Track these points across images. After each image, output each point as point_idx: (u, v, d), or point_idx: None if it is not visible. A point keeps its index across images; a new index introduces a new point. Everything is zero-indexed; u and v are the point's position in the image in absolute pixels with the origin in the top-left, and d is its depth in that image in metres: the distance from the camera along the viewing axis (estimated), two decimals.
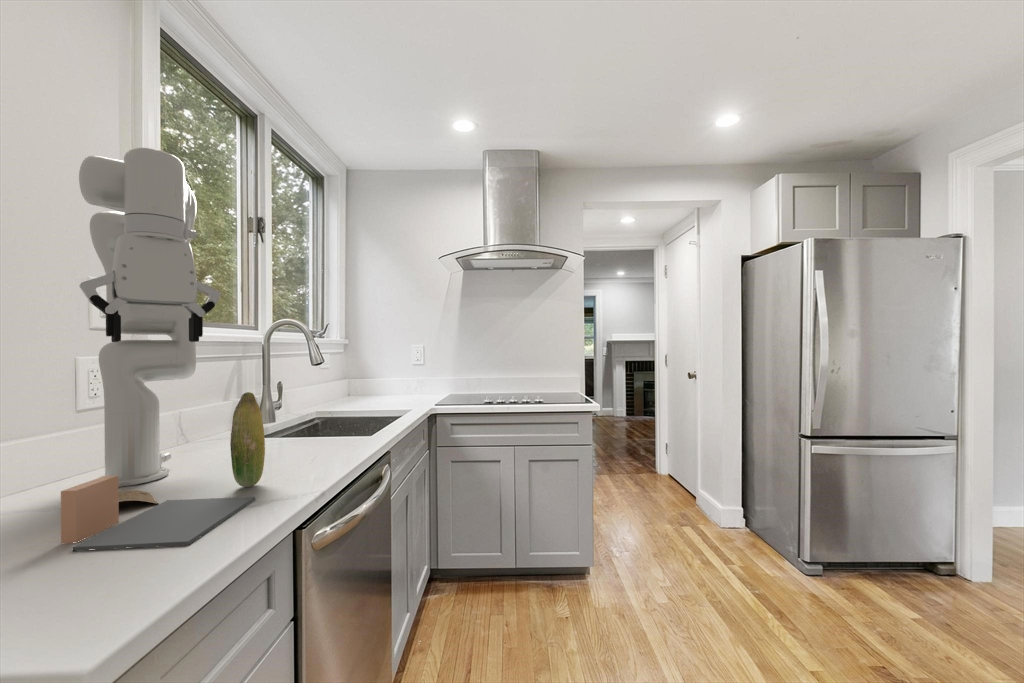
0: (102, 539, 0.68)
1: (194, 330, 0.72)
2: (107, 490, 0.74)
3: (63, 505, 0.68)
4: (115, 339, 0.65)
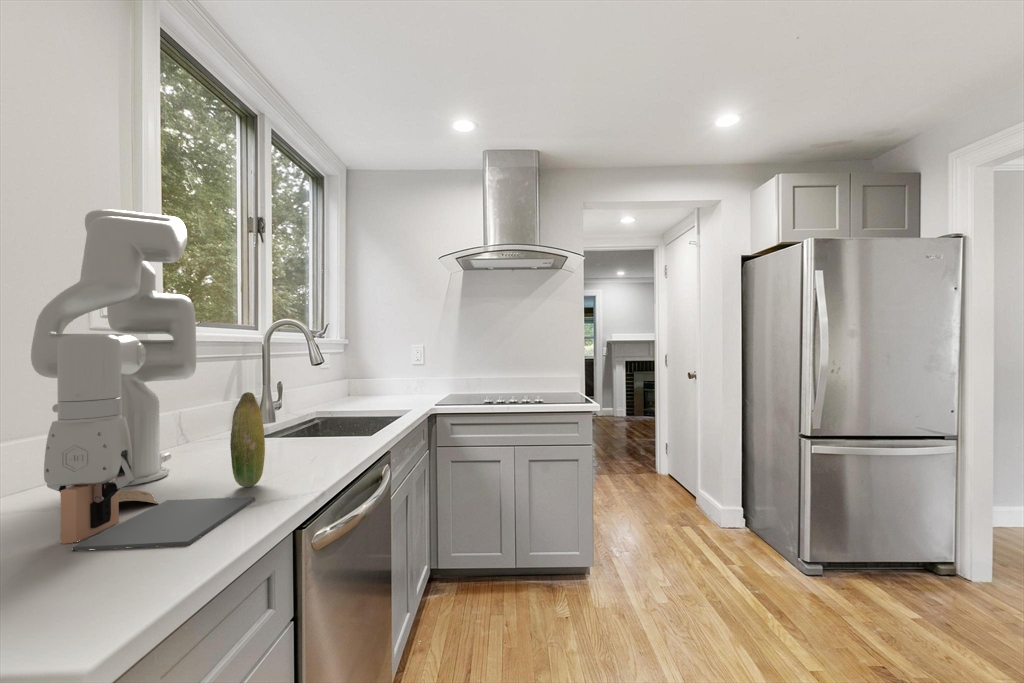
0: (102, 539, 0.68)
1: None
2: None
3: (62, 505, 0.68)
4: (109, 519, 0.73)
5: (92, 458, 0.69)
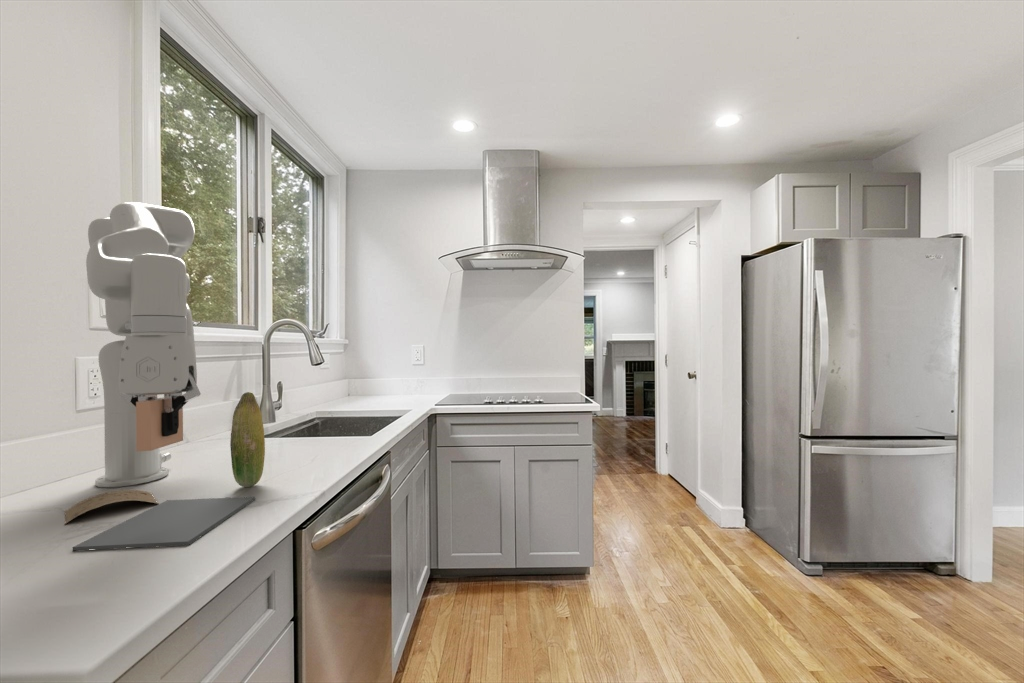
0: (102, 539, 0.68)
1: None
2: None
3: (138, 415, 0.73)
4: (176, 431, 0.78)
5: (164, 369, 0.74)
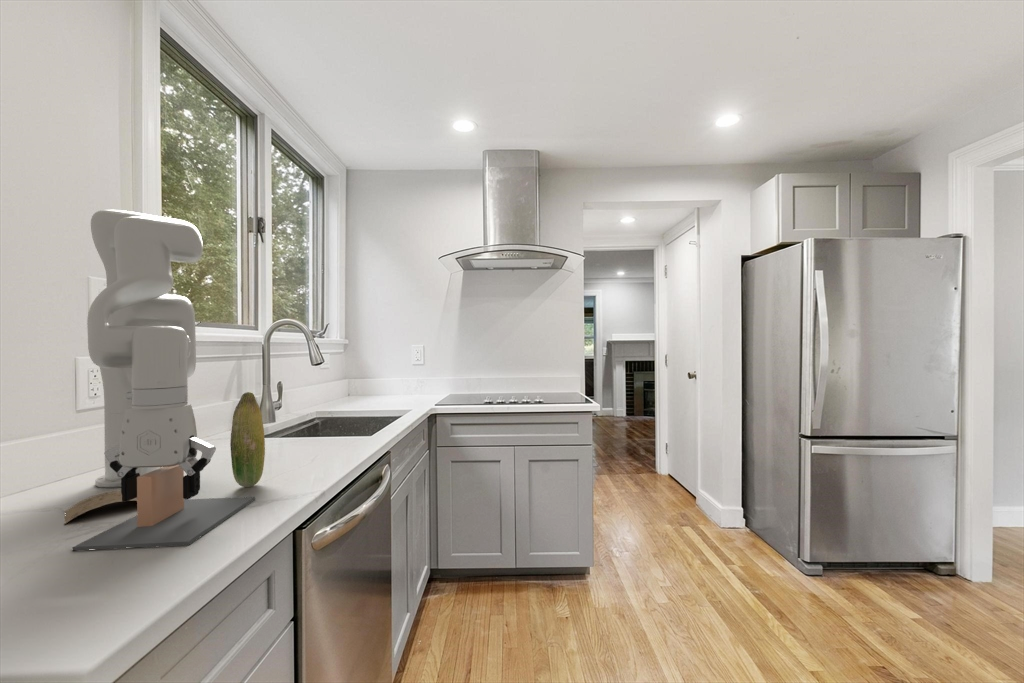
0: (102, 539, 0.68)
1: None
2: (175, 477, 0.78)
3: (139, 490, 0.72)
4: (197, 492, 0.78)
5: (164, 442, 0.74)
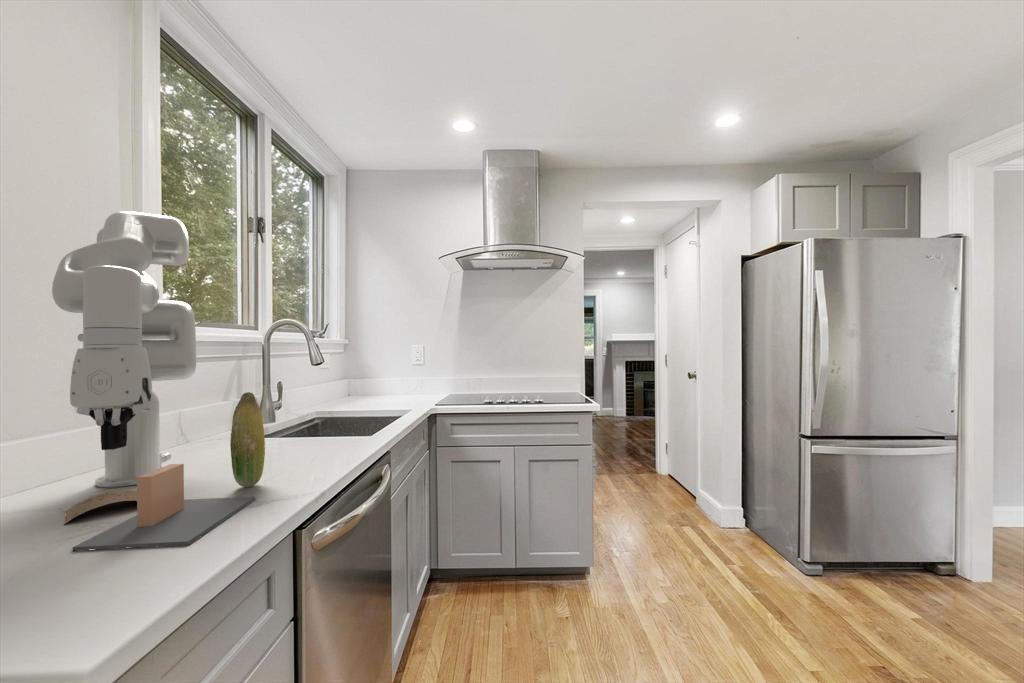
0: (102, 539, 0.68)
1: None
2: (175, 477, 0.78)
3: (139, 490, 0.72)
4: (125, 444, 0.77)
5: (115, 382, 0.73)
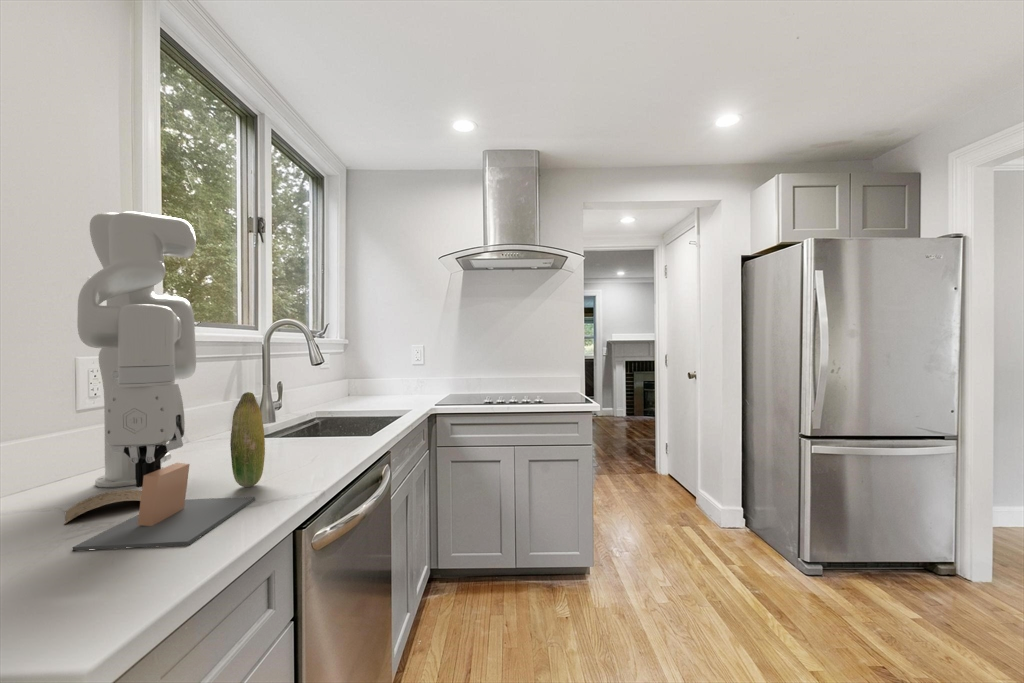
0: (102, 539, 0.68)
1: None
2: (179, 477, 0.78)
3: (144, 489, 0.72)
4: None
5: (150, 420, 0.74)
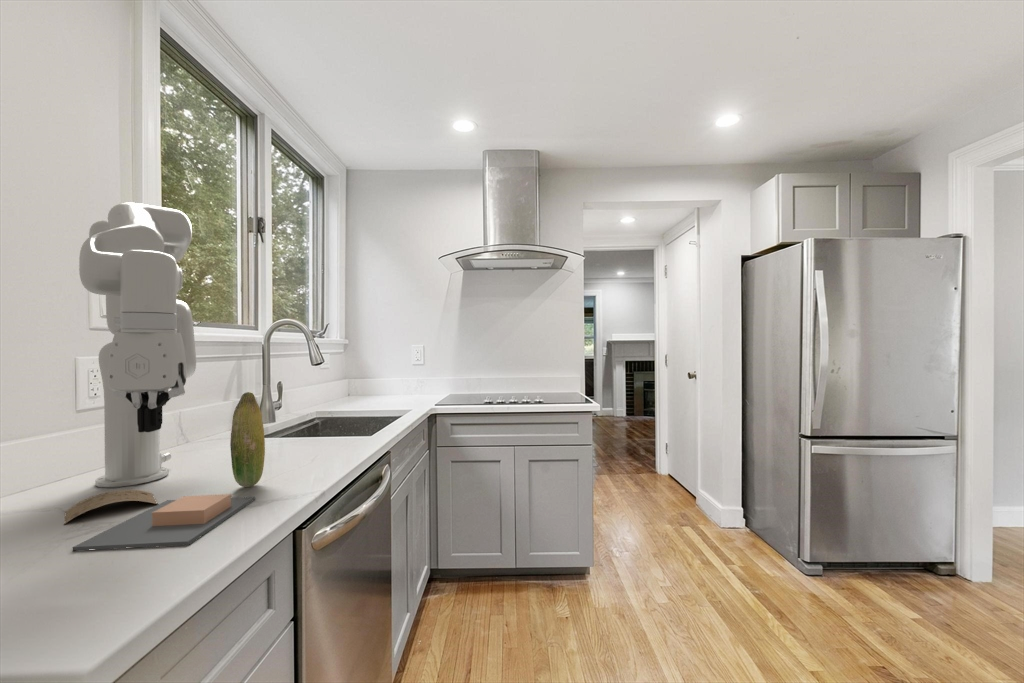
0: (102, 539, 0.68)
1: None
2: None
3: (189, 512, 0.73)
4: (160, 427, 0.79)
5: (153, 366, 0.74)
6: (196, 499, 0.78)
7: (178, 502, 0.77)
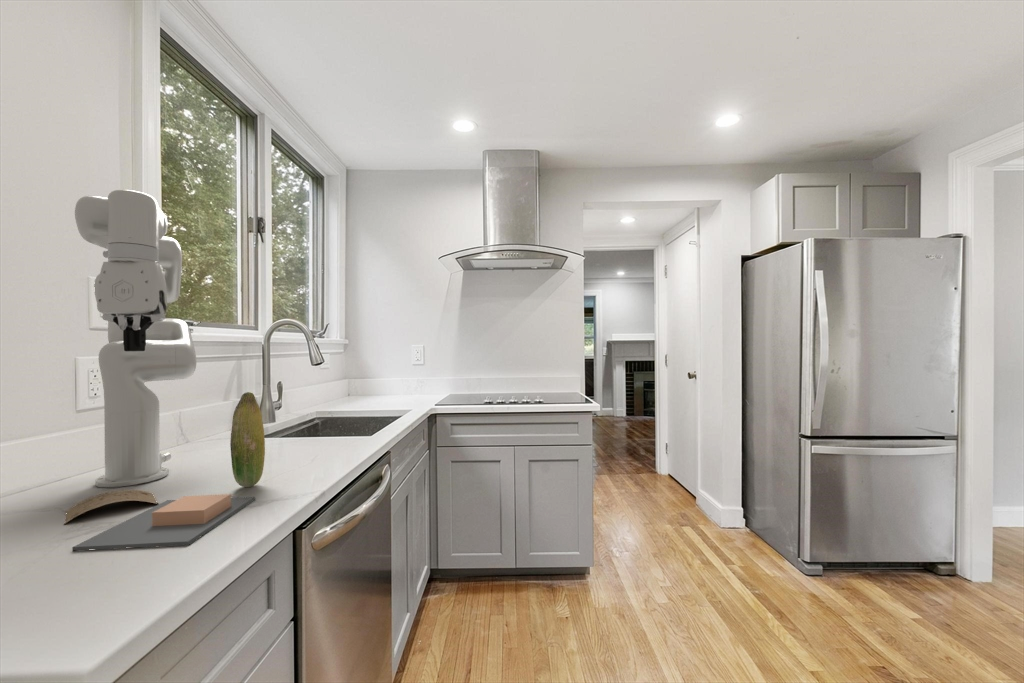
0: (102, 539, 0.68)
1: None
2: None
3: (189, 512, 0.73)
4: (144, 349, 0.88)
5: (136, 291, 0.84)
6: (196, 499, 0.78)
7: (178, 502, 0.77)
